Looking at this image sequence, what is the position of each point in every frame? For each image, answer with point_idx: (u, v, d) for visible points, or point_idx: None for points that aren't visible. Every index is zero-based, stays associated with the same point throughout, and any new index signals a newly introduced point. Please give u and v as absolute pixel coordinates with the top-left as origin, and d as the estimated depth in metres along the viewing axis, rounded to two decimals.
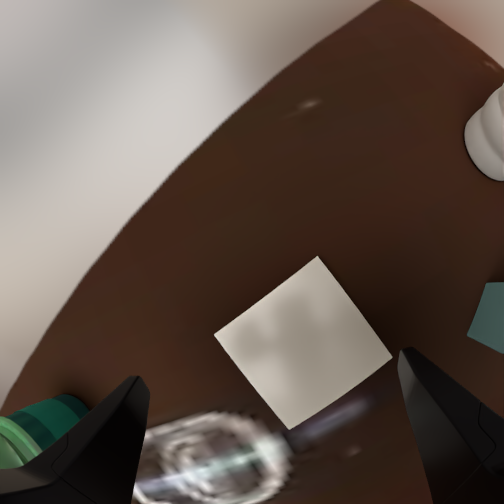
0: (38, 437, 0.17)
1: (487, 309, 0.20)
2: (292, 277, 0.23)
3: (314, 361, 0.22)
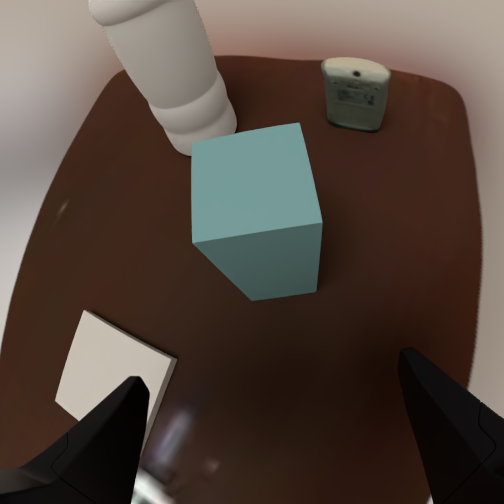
0: None
1: None
2: (76, 334, 0.25)
3: None
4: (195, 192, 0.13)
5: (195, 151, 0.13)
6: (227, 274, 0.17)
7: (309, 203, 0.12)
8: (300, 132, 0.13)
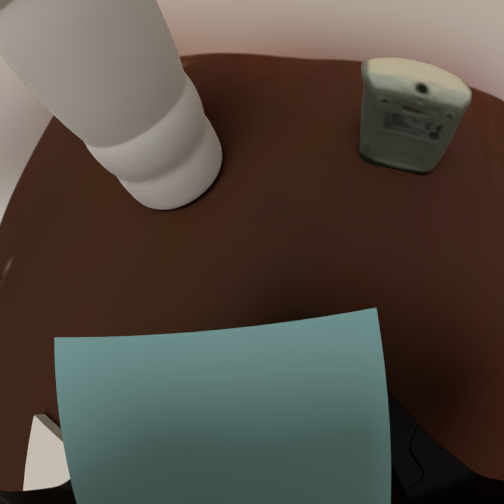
0: None
1: None
2: (30, 440, 0.15)
3: None
4: (79, 490, 0.03)
5: (62, 370, 0.04)
6: None
7: None
8: (378, 355, 0.03)
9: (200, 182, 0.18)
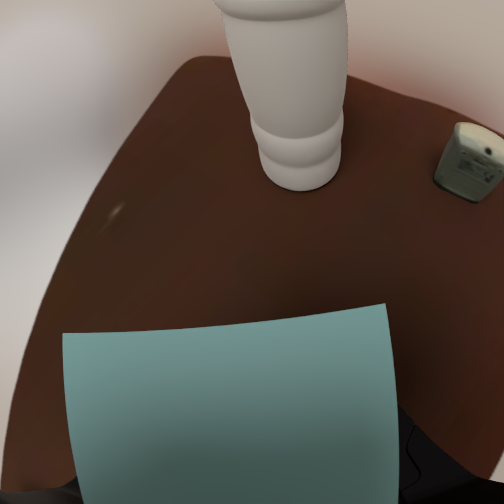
0: None
1: None
2: None
3: None
4: (86, 487, 0.03)
5: (70, 366, 0.04)
6: None
7: None
8: (387, 350, 0.04)
9: (327, 176, 0.24)
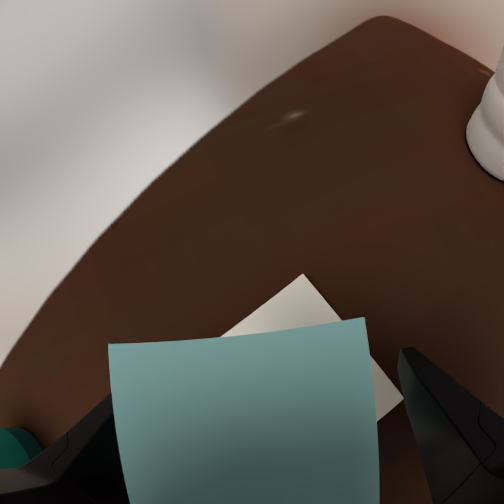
0: None
1: None
2: (271, 300, 0.19)
3: None
4: (129, 470, 0.05)
5: (116, 370, 0.06)
6: None
7: None
8: (365, 351, 0.05)
9: None
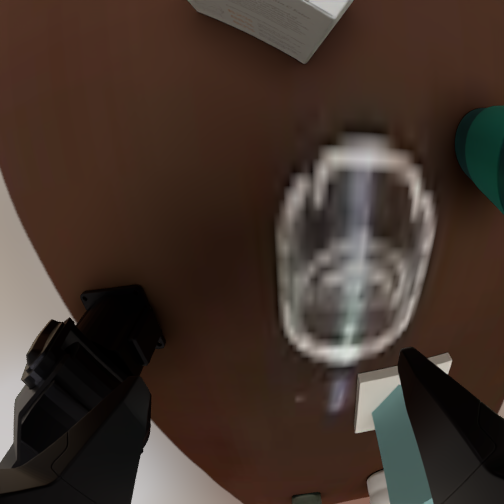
0: None
1: None
2: None
3: None
4: None
5: None
6: (418, 452, 0.19)
7: None
8: None
9: (369, 483, 0.38)
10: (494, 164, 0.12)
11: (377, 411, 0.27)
